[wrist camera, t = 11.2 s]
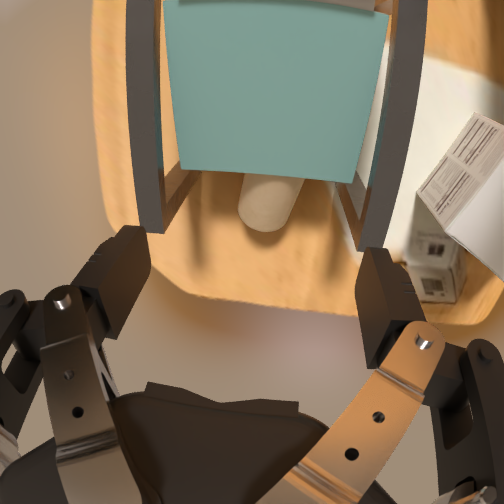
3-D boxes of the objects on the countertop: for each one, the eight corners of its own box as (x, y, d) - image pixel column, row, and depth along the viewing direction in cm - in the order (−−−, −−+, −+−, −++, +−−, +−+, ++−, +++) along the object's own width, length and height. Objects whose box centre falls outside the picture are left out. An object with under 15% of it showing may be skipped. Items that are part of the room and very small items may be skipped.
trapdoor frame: (184, -11, 23) (129, -39, 13) (376, 2, 23) (428, -21, 12) (184, 171, 36) (141, 231, 25) (352, 186, 35) (380, 253, 24)
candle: (302, 185, 26) (275, 247, 34) (318, 147, 28) (291, 210, 37) (240, 160, 26) (227, 226, 35) (263, 125, 29) (247, 192, 37)
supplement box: (538, 187, 31) (576, 221, 23) (486, 253, 38) (514, 296, 30) (474, 108, 27) (521, 131, 20) (414, 192, 34) (444, 234, 27)
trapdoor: (169, -44, 13) (155, -44, 12) (388, -31, 13) (399, -30, 11) (185, 158, 27) (178, 175, 25) (349, 172, 26) (353, 189, 25)
